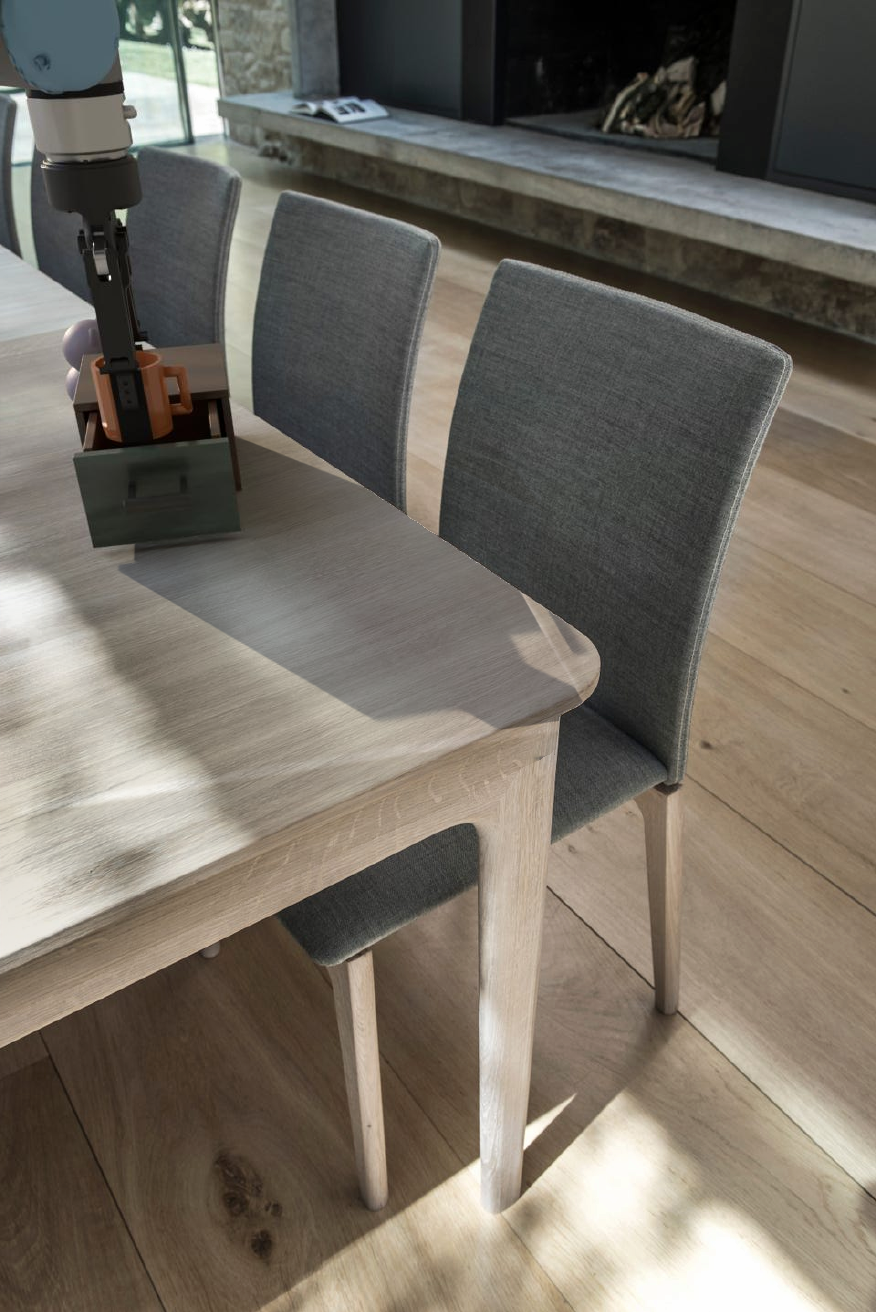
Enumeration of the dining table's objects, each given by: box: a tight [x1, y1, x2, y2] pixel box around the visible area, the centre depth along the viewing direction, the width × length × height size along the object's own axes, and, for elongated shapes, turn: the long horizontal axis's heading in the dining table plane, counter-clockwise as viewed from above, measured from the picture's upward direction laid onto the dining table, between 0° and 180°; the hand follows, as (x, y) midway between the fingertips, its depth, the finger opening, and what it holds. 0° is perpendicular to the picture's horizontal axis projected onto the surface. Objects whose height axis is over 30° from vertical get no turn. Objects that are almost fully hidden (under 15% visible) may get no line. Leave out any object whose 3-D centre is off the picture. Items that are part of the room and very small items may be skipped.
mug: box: [91, 350, 193, 442], centre depth 96 cm, size 8×6×6 cm
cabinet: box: [72, 342, 243, 491], centre depth 110 cm, size 16×15×11 cm
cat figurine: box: [61, 317, 103, 402], centre depth 121 cm, size 8×8×12 cm
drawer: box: [72, 399, 242, 549], centre depth 98 cm, size 19×13×9 cm
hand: (138, 426), depth 97 cm, fingers closed on mug, 6 cm apart
